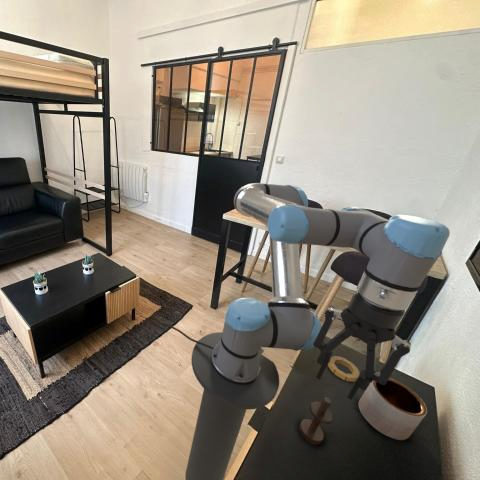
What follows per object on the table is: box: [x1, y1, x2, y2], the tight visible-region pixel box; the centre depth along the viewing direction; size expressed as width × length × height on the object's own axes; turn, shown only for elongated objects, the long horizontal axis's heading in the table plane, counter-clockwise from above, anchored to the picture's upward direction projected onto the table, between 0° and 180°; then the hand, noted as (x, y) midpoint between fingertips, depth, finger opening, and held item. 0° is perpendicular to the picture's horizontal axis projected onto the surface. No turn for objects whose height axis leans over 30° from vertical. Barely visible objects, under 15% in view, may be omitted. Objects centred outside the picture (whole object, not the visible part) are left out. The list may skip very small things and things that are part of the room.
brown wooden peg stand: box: [298, 396, 334, 446], centre depth 60 cm, size 5×5×12 cm
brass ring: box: [327, 355, 361, 383], centre depth 54 cm, size 5×5×1 cm
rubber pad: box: [334, 363, 353, 374], centre depth 81 cm, size 8×8×1 cm
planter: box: [358, 377, 428, 441], centre depth 65 cm, size 11×11×10 cm
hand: (334, 384), depth 56 cm, fingers closed on brass ring, 5 cm apart
